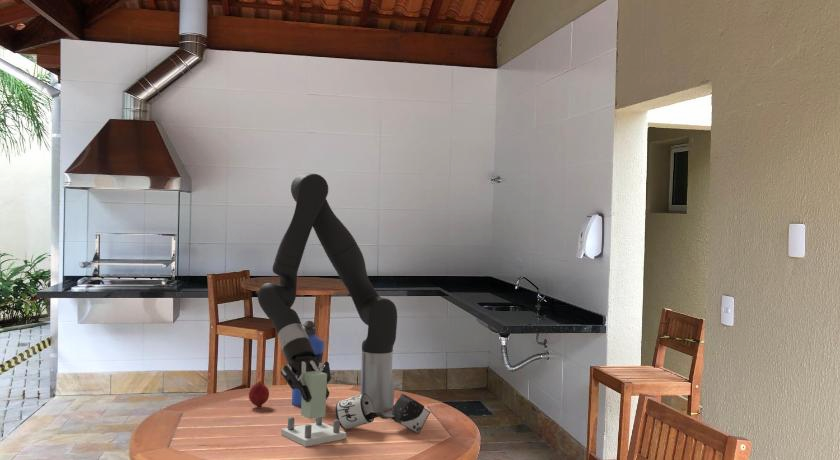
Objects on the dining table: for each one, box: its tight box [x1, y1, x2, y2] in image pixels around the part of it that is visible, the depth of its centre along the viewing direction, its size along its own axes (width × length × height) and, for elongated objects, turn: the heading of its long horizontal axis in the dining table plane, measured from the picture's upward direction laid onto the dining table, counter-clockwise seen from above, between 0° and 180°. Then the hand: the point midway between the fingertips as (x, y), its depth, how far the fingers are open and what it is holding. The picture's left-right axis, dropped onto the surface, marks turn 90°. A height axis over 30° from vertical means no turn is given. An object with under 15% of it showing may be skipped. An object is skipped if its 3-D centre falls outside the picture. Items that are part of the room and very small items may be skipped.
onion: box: [248, 379, 270, 408], centre depth 216 cm, size 6×6×8 cm
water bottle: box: [291, 320, 325, 408], centre depth 222 cm, size 9×9×25 cm
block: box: [300, 371, 328, 420], centre depth 188 cm, size 4×4×11 cm
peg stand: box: [280, 416, 347, 447], centre depth 189 cm, size 12×12×4 cm
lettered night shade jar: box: [335, 393, 431, 435], centre depth 196 cm, size 25×10×10 cm, turn 93°
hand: (317, 399), depth 187 cm, fingers closed on block, 4 cm apart
